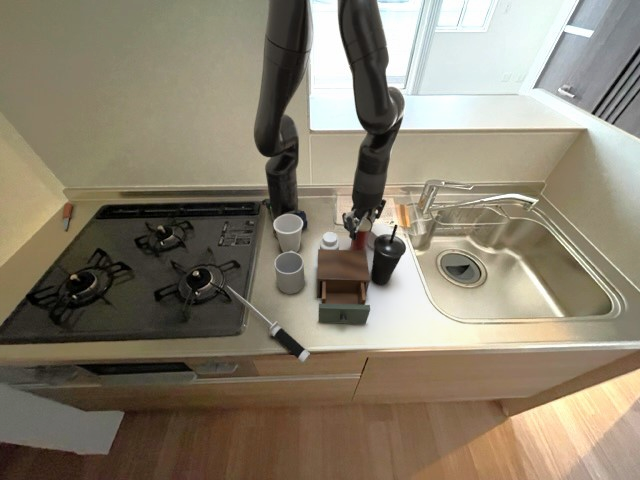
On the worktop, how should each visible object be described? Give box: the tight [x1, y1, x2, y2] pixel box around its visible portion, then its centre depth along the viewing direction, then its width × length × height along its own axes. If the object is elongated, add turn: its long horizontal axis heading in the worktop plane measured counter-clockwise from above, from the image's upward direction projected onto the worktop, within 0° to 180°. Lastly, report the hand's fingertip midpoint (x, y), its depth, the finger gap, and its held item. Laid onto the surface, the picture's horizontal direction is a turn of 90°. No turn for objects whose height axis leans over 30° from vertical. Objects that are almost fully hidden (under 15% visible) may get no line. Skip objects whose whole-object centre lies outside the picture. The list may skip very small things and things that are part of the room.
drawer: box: [317, 281, 371, 325], centre depth 61 cm, size 10×11×7 cm
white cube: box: [367, 221, 397, 251], centre depth 79 cm, size 6×6×6 cm
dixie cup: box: [272, 214, 303, 253], centre depth 76 cm, size 8×8×10 cm
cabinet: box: [316, 248, 371, 299], centre depth 67 cm, size 10×13×9 cm
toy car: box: [272, 209, 308, 239], centre depth 82 cm, size 6×12×6 cm
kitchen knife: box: [62, 202, 73, 230], centre depth 86 cm, size 16×1×2 cm
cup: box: [274, 251, 305, 295], centre depth 68 cm, size 7×10×9 cm
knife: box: [227, 285, 311, 364], centre depth 59 cm, size 26×2×5 cm, turn 52°
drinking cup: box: [370, 224, 407, 287], centre depth 65 cm, size 8×8×20 cm
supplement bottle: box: [319, 231, 340, 250], centre depth 73 cm, size 5×5×10 cm
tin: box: [349, 218, 371, 251], centre depth 74 cm, size 5×5×12 cm
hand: (360, 235), depth 73 cm, fingers closed on tin, 4 cm apart
